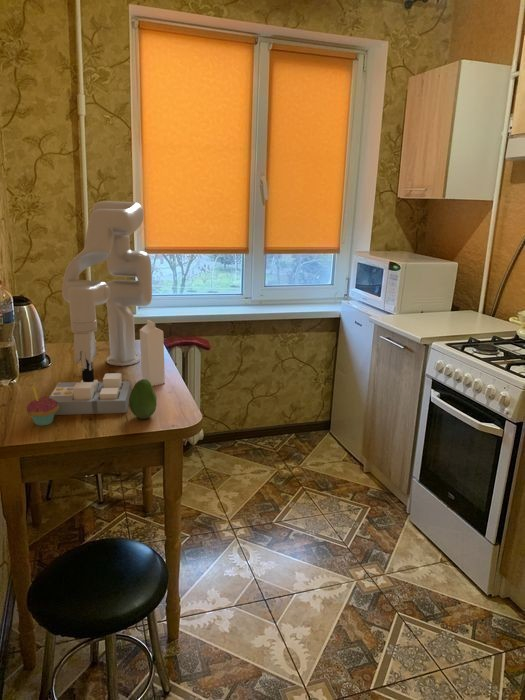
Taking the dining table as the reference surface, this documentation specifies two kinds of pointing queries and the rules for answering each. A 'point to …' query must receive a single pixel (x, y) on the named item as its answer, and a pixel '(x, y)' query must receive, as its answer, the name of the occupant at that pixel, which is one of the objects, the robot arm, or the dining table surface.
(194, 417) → the dining table surface
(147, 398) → the avocado
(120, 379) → the button
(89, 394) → the button
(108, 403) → the board
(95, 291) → the robot arm
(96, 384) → the button
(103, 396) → the button
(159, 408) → the dining table surface
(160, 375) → the milk
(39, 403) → the cupcake
